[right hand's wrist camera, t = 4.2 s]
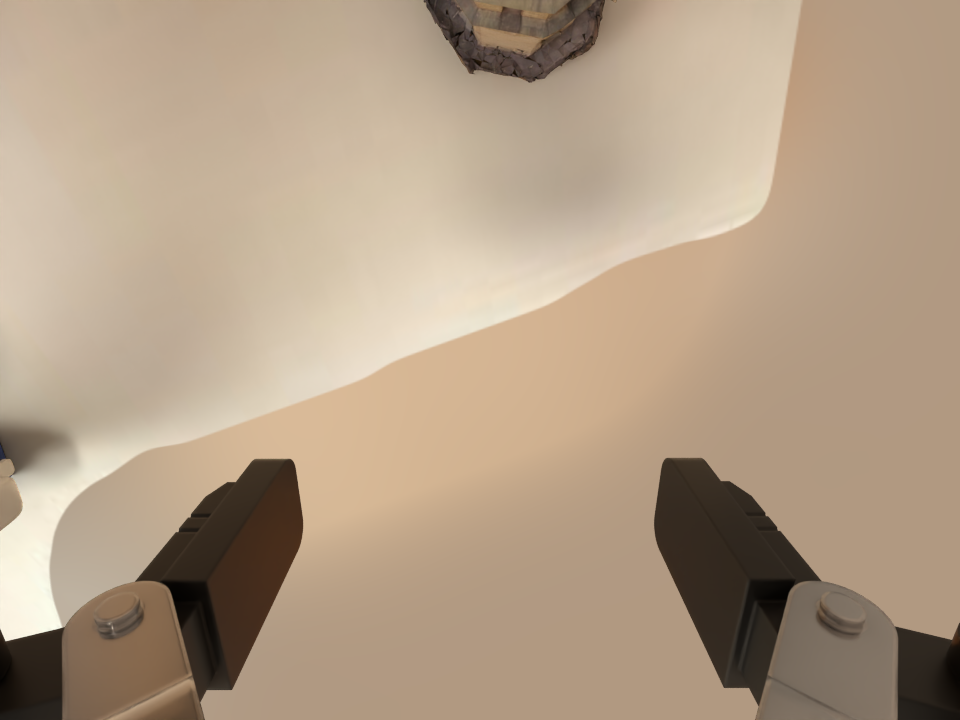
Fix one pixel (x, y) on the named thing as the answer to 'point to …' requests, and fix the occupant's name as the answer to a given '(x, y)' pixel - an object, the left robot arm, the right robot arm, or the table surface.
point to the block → (2, 454)
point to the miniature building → (518, 33)
